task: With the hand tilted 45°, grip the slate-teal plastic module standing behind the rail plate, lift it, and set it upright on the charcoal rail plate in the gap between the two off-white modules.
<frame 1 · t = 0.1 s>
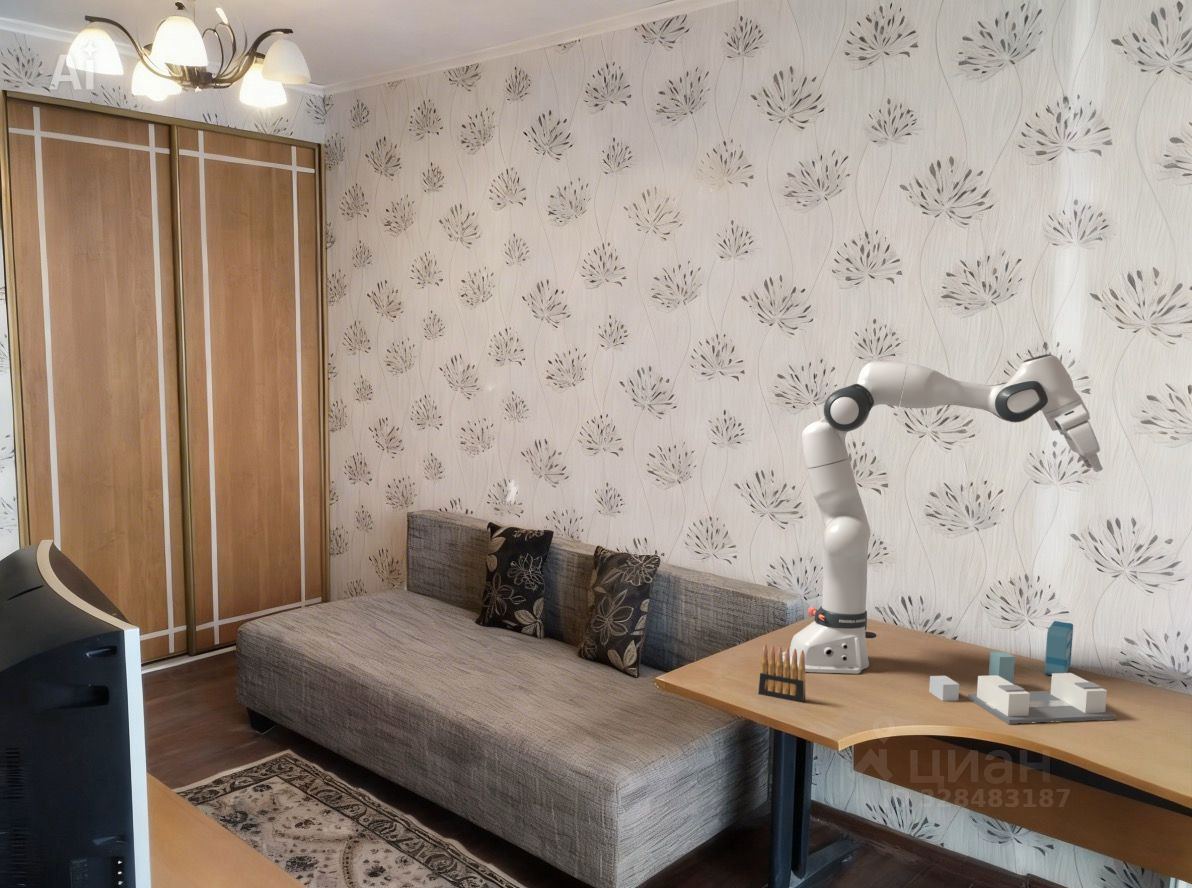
hand: (1095, 469, 219), 54 cm above the table, tool tilted 30°, fingers open, 8 cm apart
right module: (1076, 707, 213), resting on rail board
rail board: (1039, 708, 212), on the table
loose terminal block: (943, 696, 219), on the table
module: (1000, 686, 226), on the table
data package: (1057, 672, 239), on the table
ammunition clip: (781, 698, 215), on the table
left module: (1001, 710, 210), resting on rail board
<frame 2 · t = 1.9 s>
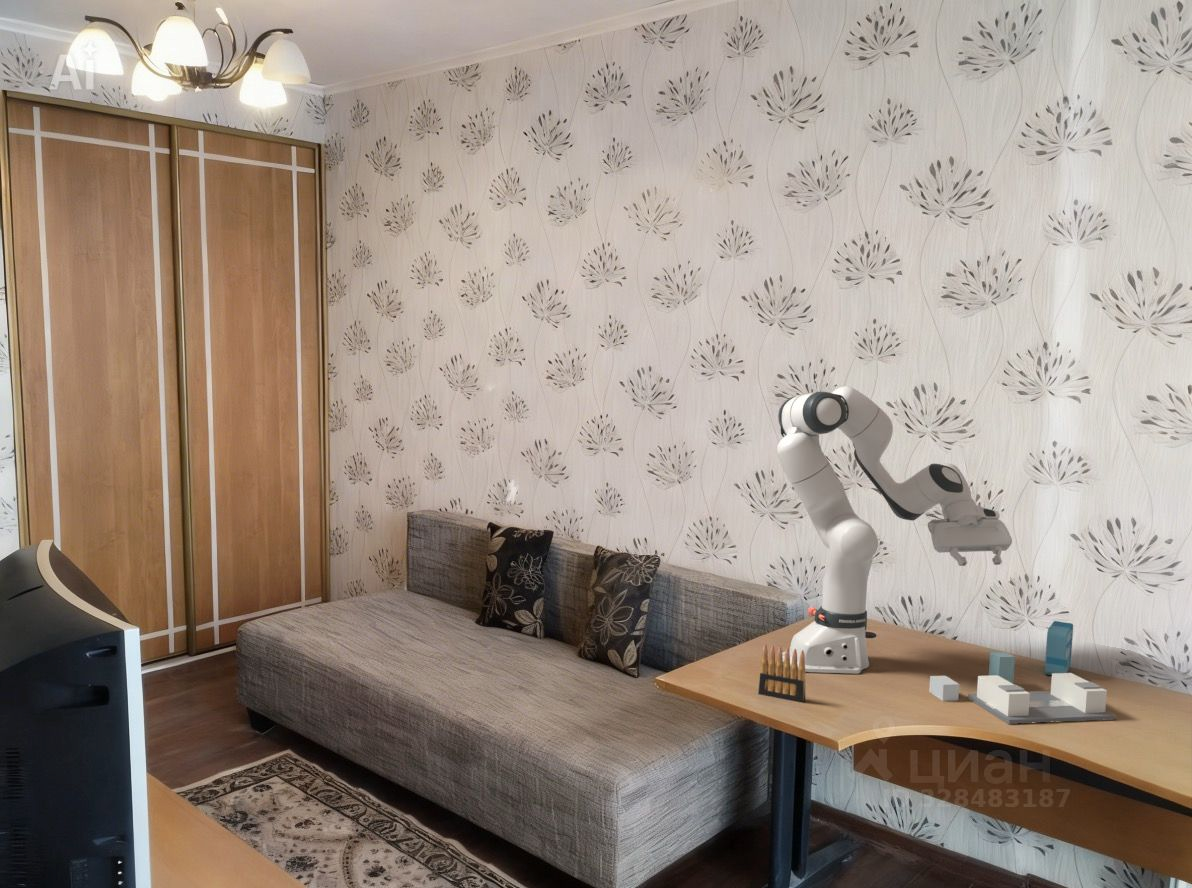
hand: (980, 564, 236), 28 cm above the table, tool tilted 45°, fingers open, 8 cm apart
nothing on the table moved.
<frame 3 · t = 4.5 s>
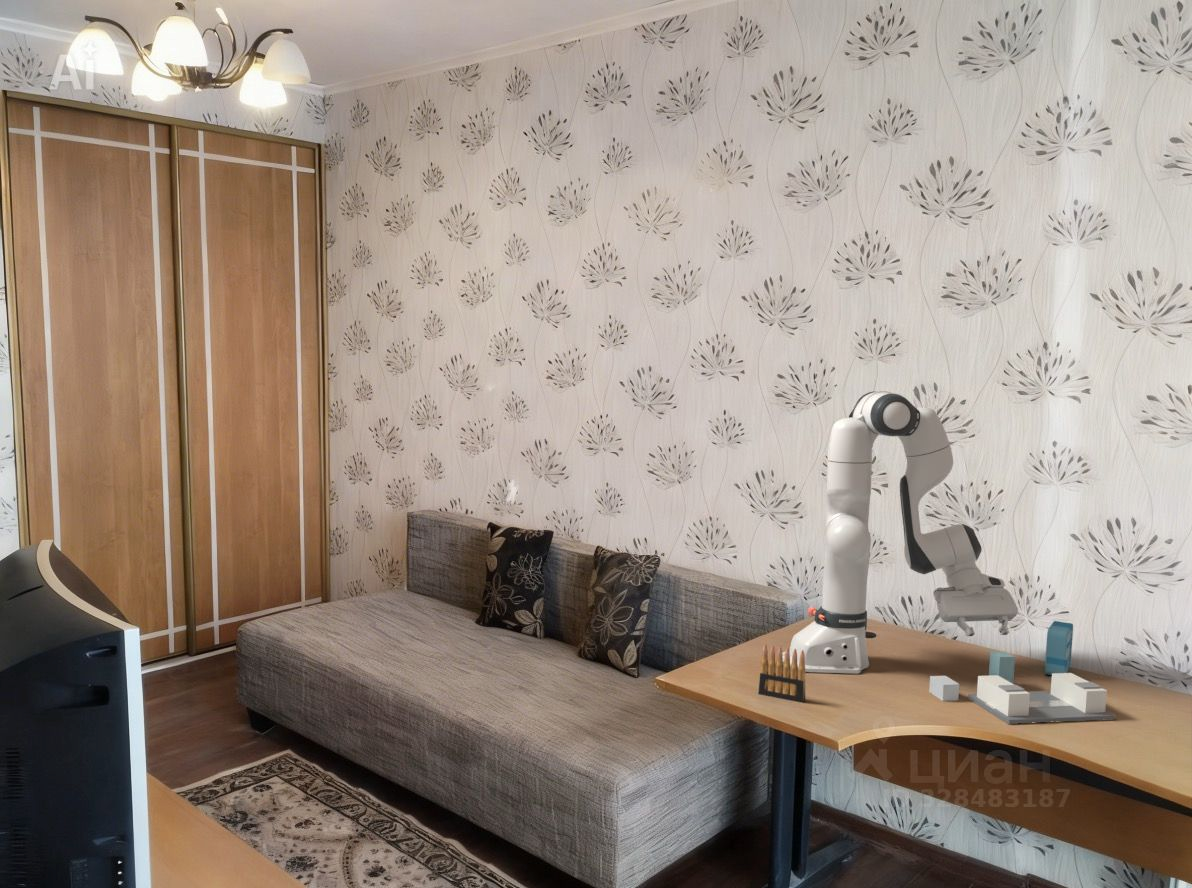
hand: (988, 634, 232), 11 cm above the table, tool tilted 45°, fingers open, 8 cm apart
nothing on the table moved.
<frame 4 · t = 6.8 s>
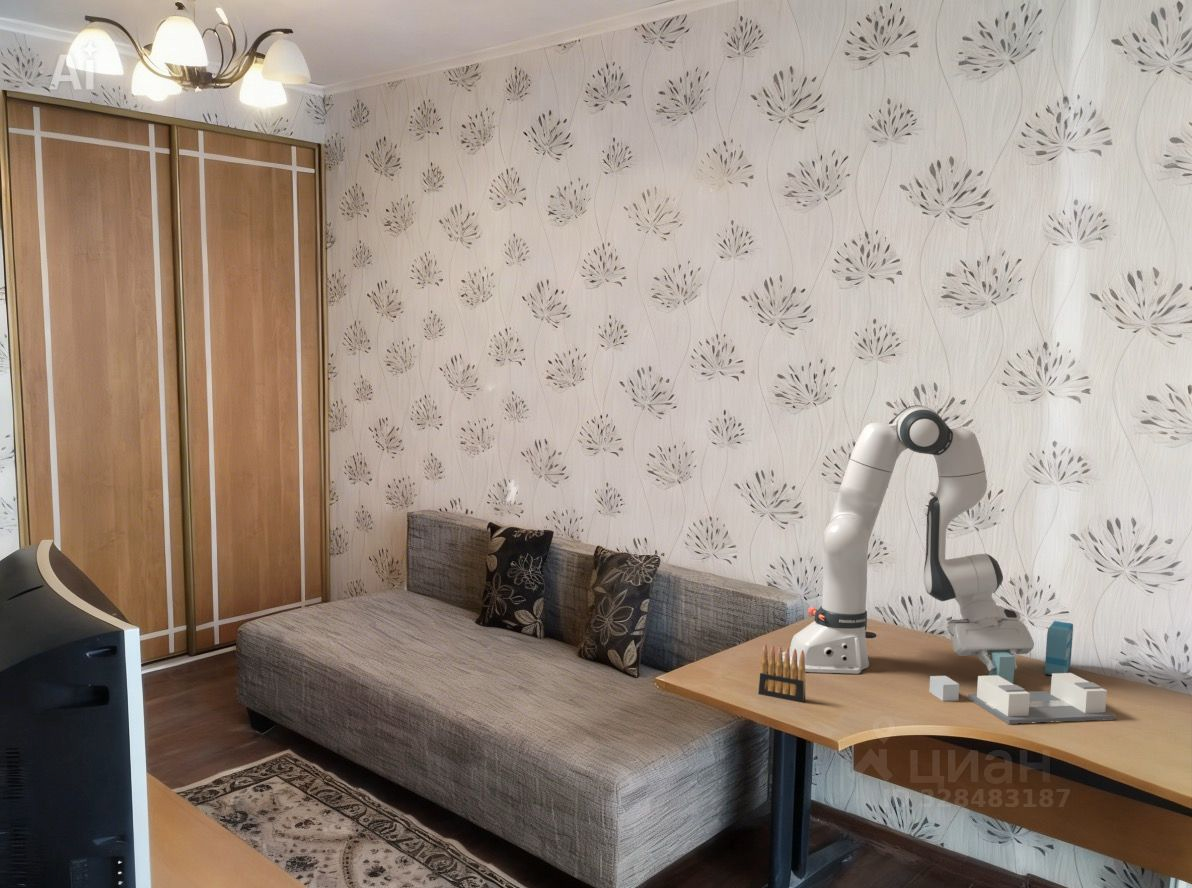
hand: (1003, 669, 225), 4 cm above the table, tool tilted 45°, fingers closed on module, 4 cm apart
module: (1000, 686, 226), on the table, touching gripper
everything else where it was.
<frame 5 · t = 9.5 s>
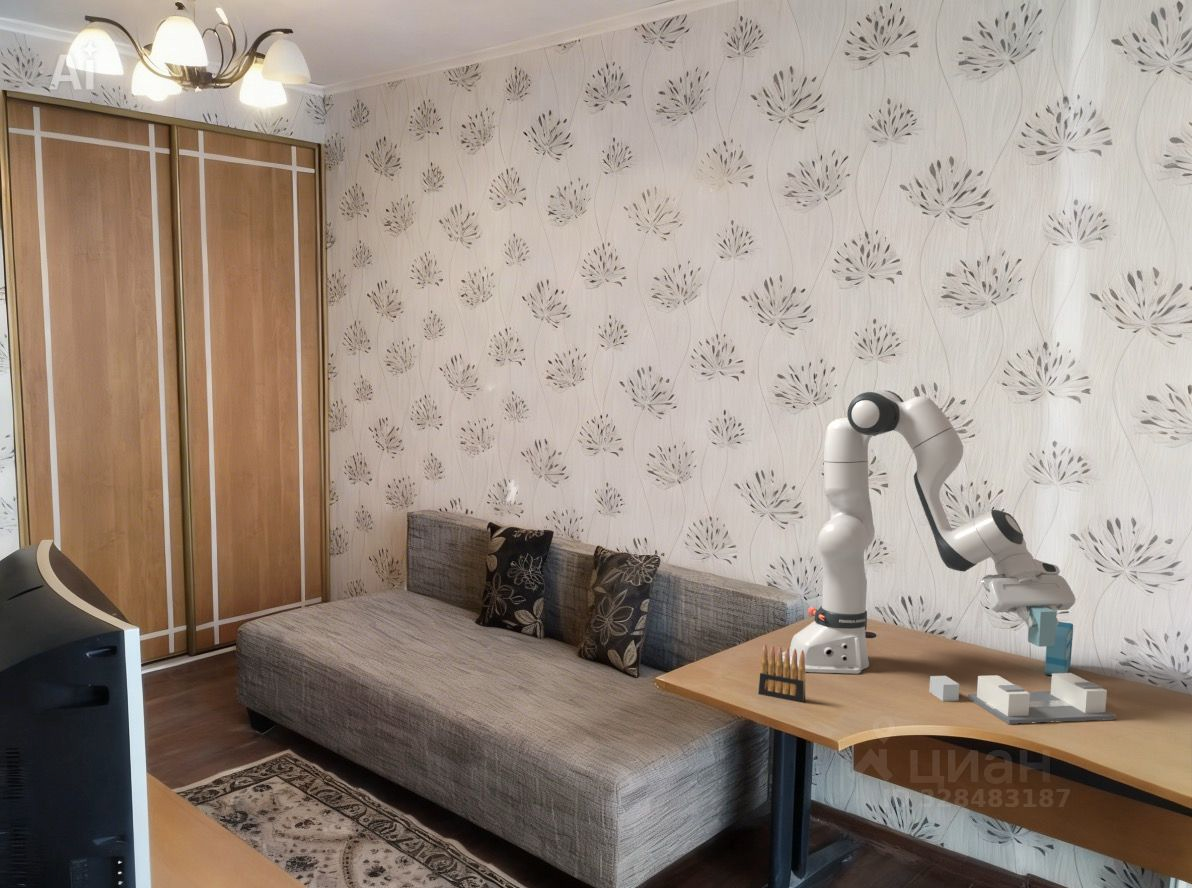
hand: (1044, 625, 211), 19 cm above the table, tool tilted 45°, fingers closed on module, 4 cm apart
module: (1041, 643, 212), point 15 cm above the table, touching gripper
everything else where it was.
when the fingers open (7 cm above the table, at t = 12.2 s): module drops 1 cm, resting on rail board.
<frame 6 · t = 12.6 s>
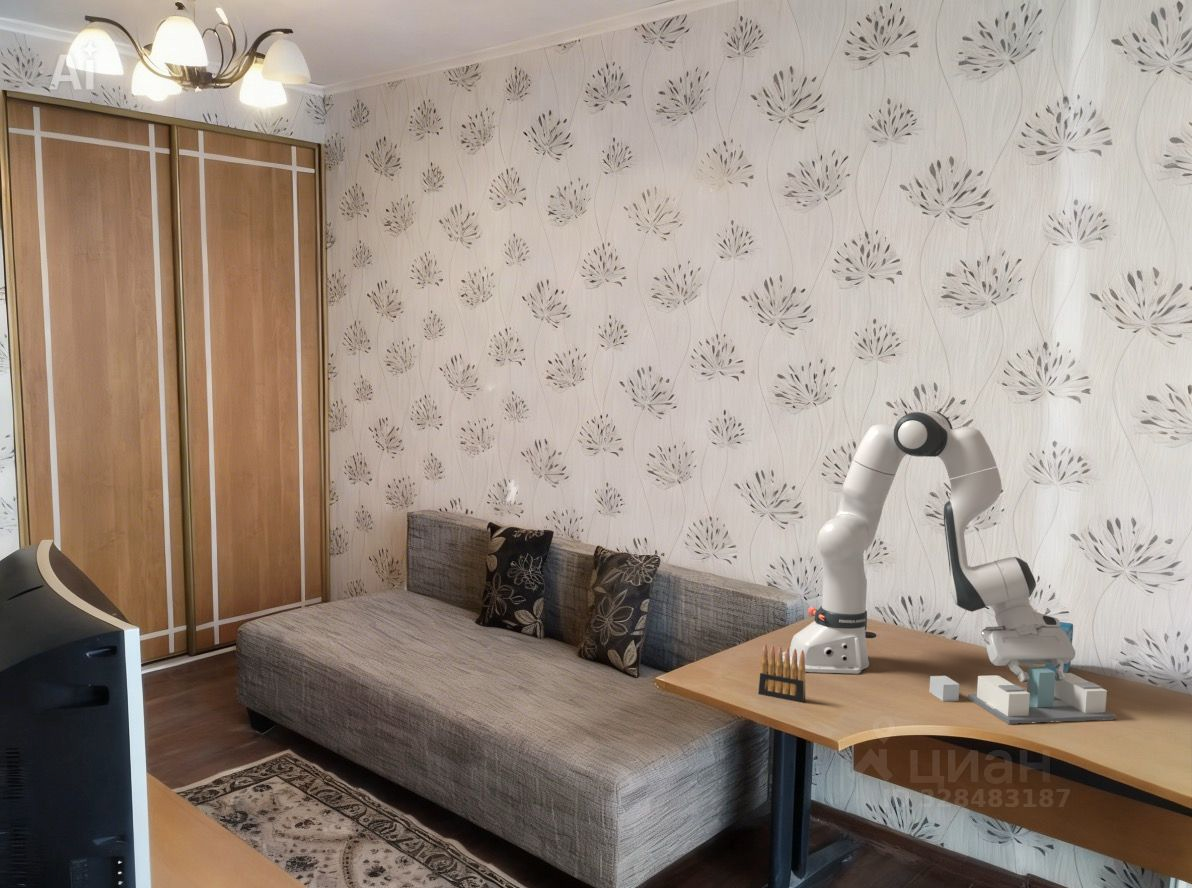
hand: (1043, 680, 211), 7 cm above the table, tool tilted 45°, fingers open, 8 cm apart
module: (1039, 703, 212), point 1 cm above the table, touching rail board
everything else where it was.
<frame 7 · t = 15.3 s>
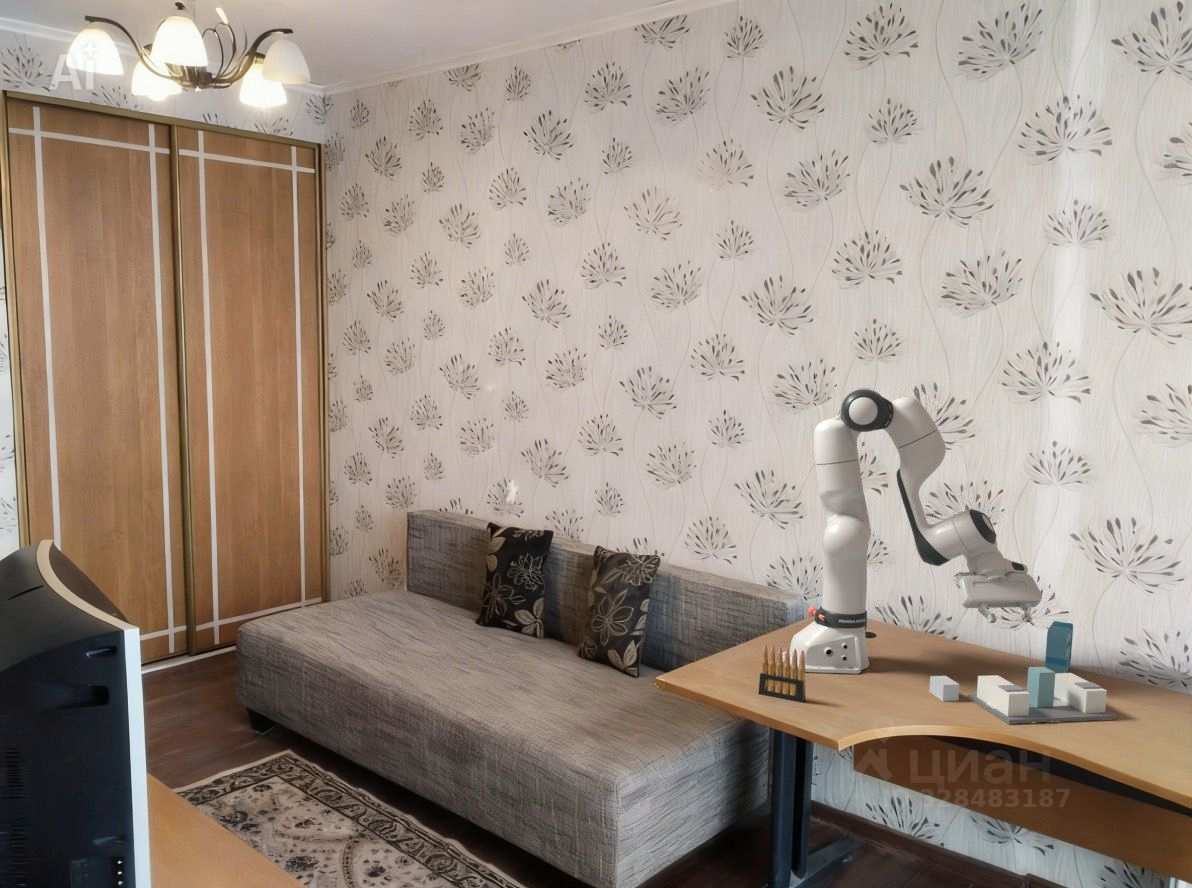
hand: (1010, 621, 223), 17 cm above the table, tool tilted 45°, fingers open, 8 cm apart
nothing on the table moved.
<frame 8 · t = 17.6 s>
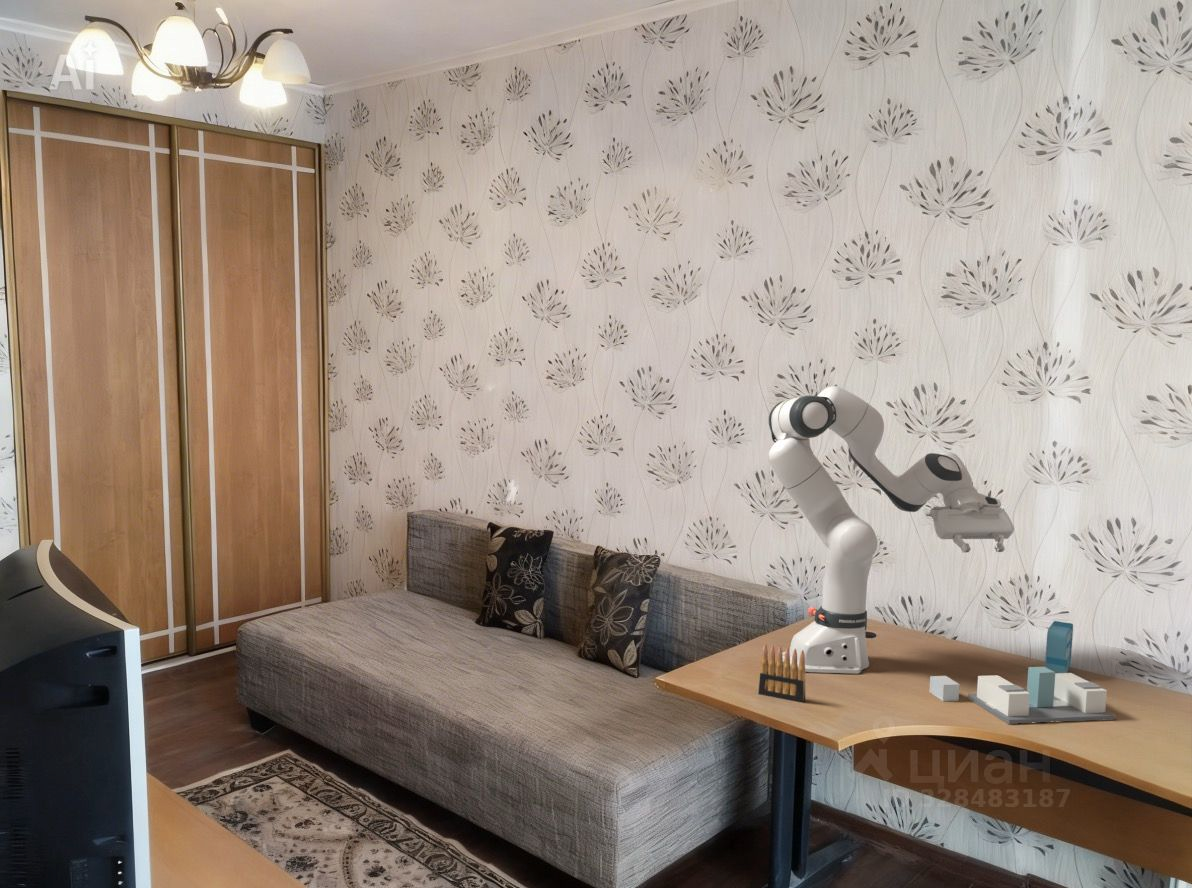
hand: (984, 551, 234), 31 cm above the table, tool tilted 45°, fingers open, 8 cm apart
nothing on the table moved.
at the end: module inside the target area on the rail board (0.1 cm from its centre), point 1.1 cm above the rail board's base; module tilted 0°; the gripper is holding nothing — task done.
